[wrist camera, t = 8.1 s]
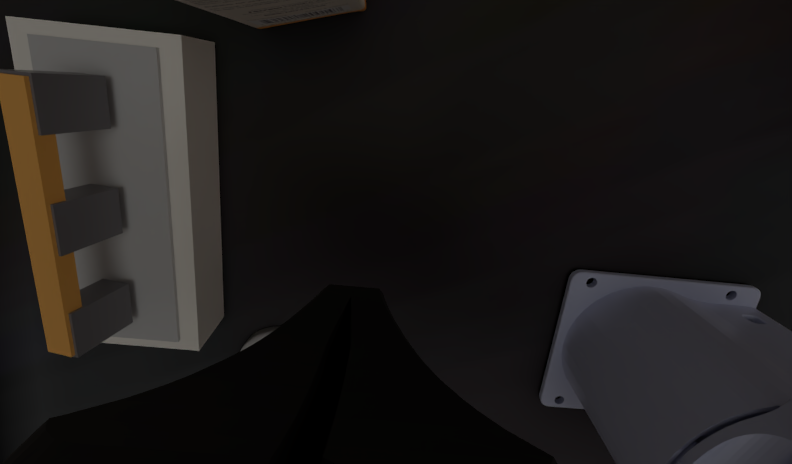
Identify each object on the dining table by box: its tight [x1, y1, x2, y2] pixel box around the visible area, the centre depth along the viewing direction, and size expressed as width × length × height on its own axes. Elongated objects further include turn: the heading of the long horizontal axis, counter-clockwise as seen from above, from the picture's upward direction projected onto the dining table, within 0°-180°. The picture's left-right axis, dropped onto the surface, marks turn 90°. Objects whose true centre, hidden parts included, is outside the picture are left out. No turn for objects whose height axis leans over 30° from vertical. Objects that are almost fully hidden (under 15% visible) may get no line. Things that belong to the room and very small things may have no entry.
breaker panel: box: [5, 16, 224, 351], centre depth 19 cm, size 6×13×3 cm, turn 174°
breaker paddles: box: [0, 69, 133, 358], centre depth 15 cm, size 1×10×3 cm, turn 175°
